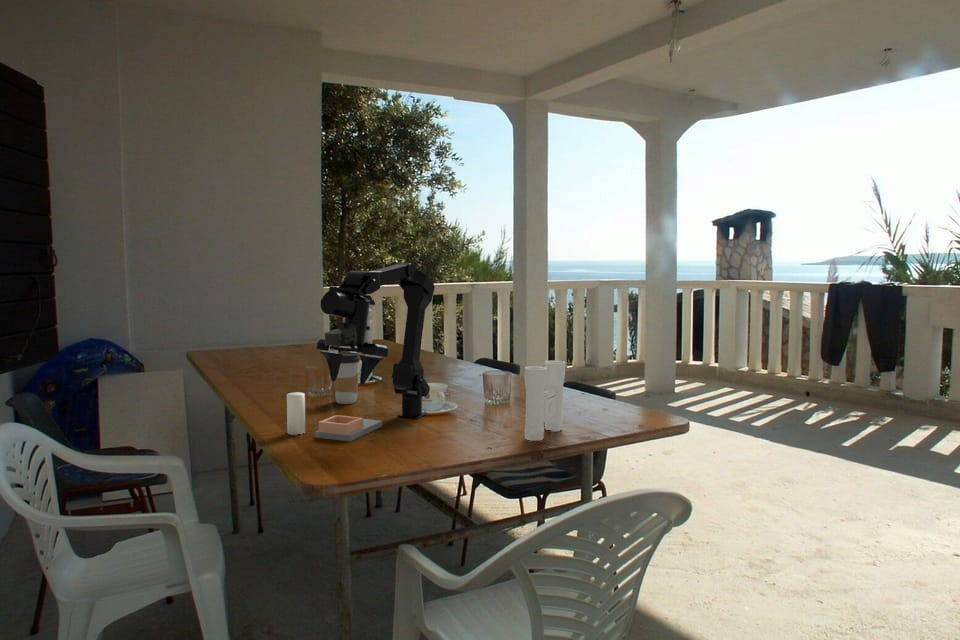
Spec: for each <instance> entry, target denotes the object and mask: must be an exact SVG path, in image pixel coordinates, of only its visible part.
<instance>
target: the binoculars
mask: <svg viewBox="0 0 960 640" xmlns="http://www.w3.org/2000/svg"><path fill="white" fill-rule="evenodd" d="M565 377H566V362H565V361H563V360H551V359H550V360H545V361H544V366H539V365H538V366H536V365H533V366H531V365H529V366H525V367H524V388H525V402H524V404H525V412H524V414H525V421H524V422H525V423H524V424H525V425H524V439H527V440H542V439H543V438H544V435H545V429H546V431H547V430H551V431H550V432H561V431H563V425H564V418H563V415H564V414H563V409H564V406H563V403H564V402H563V401H564V383H565ZM560 430H561V431H560ZM527 440H526V441H527Z"/></svg>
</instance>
